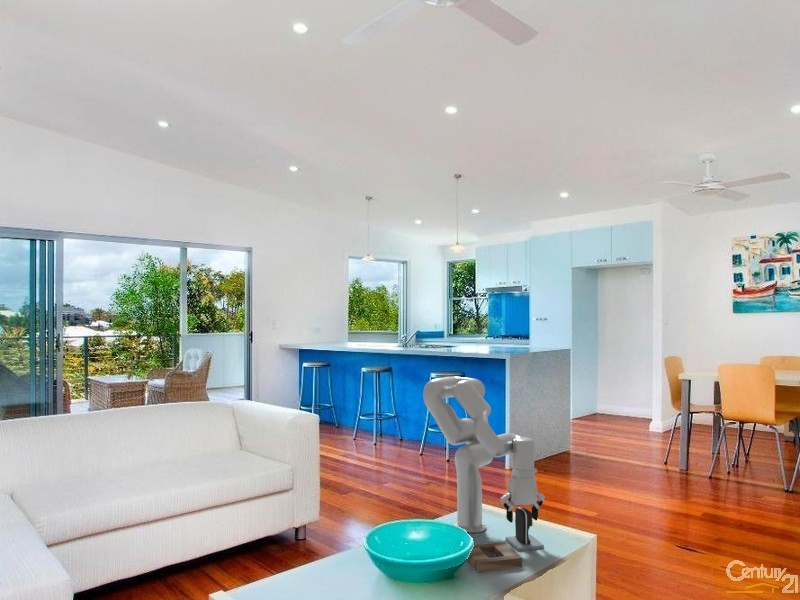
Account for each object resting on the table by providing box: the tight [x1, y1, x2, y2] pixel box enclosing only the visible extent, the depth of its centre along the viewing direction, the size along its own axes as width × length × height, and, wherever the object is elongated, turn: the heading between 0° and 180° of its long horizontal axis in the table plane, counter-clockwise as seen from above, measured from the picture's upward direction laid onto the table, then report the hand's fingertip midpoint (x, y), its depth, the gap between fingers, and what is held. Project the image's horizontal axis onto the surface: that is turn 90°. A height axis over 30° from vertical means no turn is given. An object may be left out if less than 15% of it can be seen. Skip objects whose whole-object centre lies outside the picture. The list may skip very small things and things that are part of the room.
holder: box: [466, 541, 523, 573], centre depth 189 cm, size 14×16×3 cm
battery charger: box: [514, 506, 533, 544], centre depth 204 cm, size 7×4×11 cm, turn 16°
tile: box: [505, 534, 545, 552], centre depth 203 cm, size 10×10×1 cm
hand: (522, 520), depth 204 cm, fingers open, 9 cm apart
